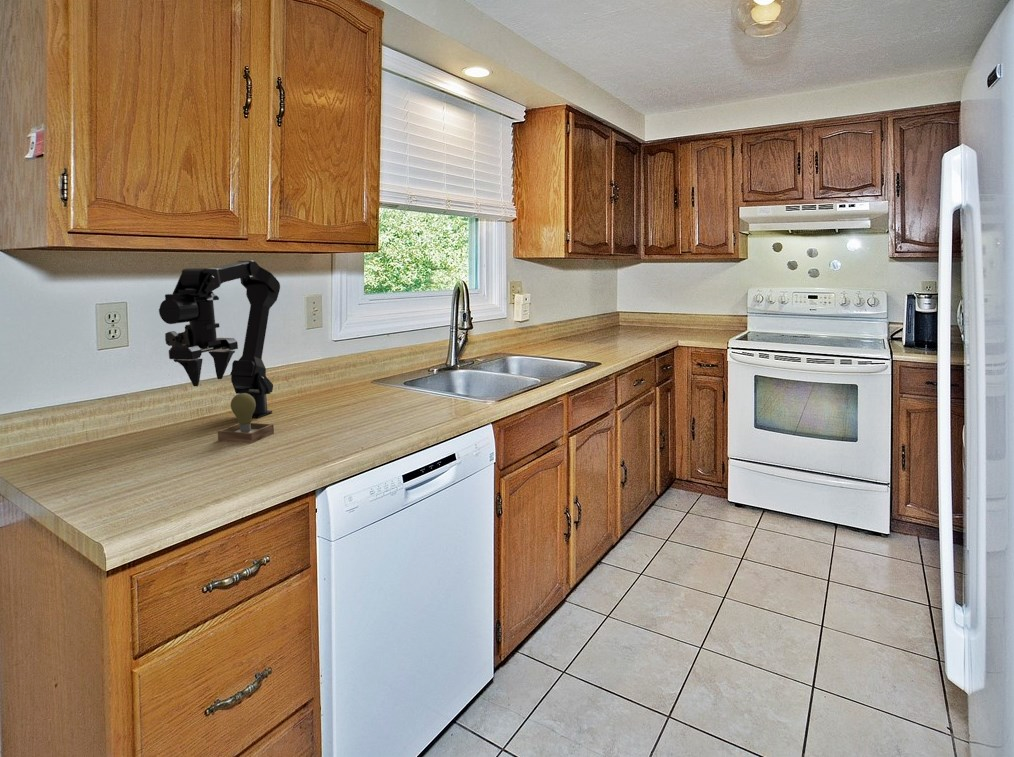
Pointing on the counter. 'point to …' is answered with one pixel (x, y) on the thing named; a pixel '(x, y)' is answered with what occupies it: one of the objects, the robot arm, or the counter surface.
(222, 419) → the counter surface
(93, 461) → the counter surface
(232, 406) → the light bulb
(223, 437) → the tray
